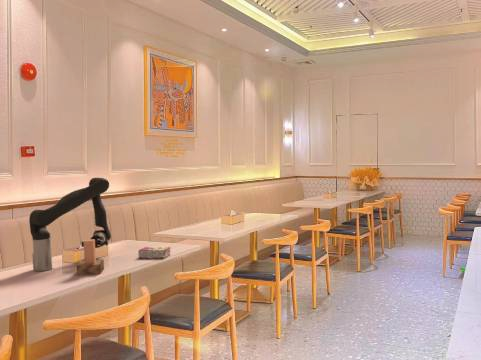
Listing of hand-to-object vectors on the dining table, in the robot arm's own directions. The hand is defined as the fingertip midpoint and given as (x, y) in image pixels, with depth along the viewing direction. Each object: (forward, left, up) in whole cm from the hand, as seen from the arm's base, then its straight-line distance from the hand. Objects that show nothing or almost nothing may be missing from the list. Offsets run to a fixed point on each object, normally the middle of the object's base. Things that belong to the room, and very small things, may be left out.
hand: (93, 245), depth 277 cm
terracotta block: (0, -10, -7) cm, 13 cm away
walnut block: (0, -10, -12) cm, 16 cm away
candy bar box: (+24, +23, -10) cm, 35 cm away
